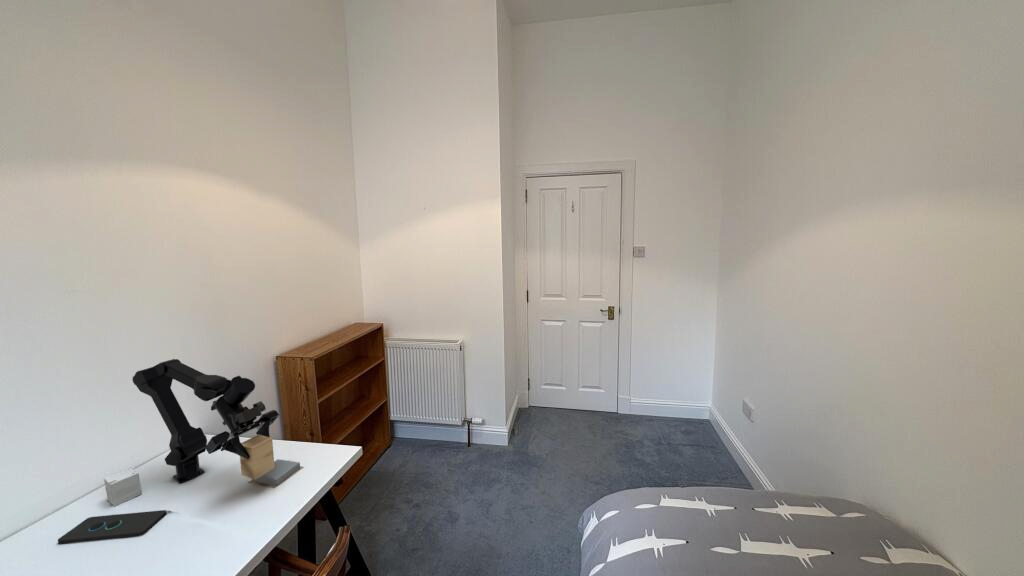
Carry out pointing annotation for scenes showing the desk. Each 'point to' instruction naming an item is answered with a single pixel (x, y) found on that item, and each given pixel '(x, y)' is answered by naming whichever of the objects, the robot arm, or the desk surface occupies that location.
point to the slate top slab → (279, 472)
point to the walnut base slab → (274, 485)
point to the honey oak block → (257, 457)
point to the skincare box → (122, 486)
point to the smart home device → (113, 527)
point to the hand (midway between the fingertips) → (259, 452)
